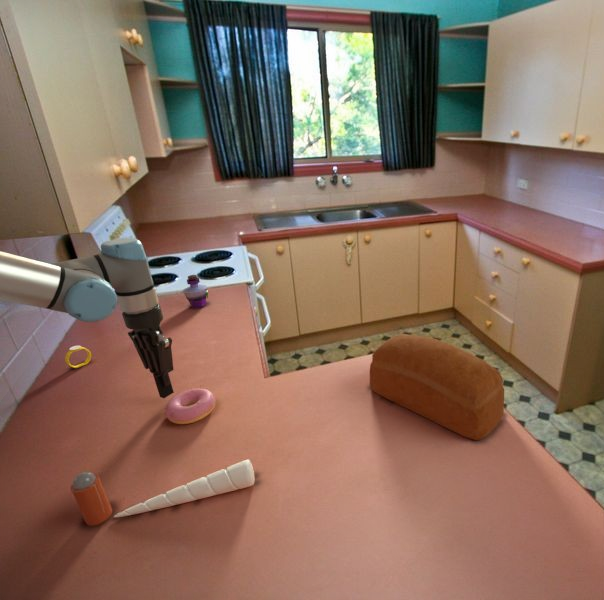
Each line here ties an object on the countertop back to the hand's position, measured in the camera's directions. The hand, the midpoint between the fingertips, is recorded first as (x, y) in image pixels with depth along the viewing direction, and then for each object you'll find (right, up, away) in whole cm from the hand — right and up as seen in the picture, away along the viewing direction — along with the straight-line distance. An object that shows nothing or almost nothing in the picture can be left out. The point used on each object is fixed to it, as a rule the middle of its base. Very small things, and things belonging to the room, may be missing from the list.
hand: (166, 394), depth 104 cm
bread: (+65, -1, -2) cm, 66 cm away
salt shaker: (+4, -15, -29) cm, 33 cm away
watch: (-35, +4, +18) cm, 39 cm away
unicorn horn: (+19, -14, -26) cm, 35 cm away
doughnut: (+8, -4, -3) cm, 9 cm away
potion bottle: (-18, +21, +56) cm, 62 cm away
